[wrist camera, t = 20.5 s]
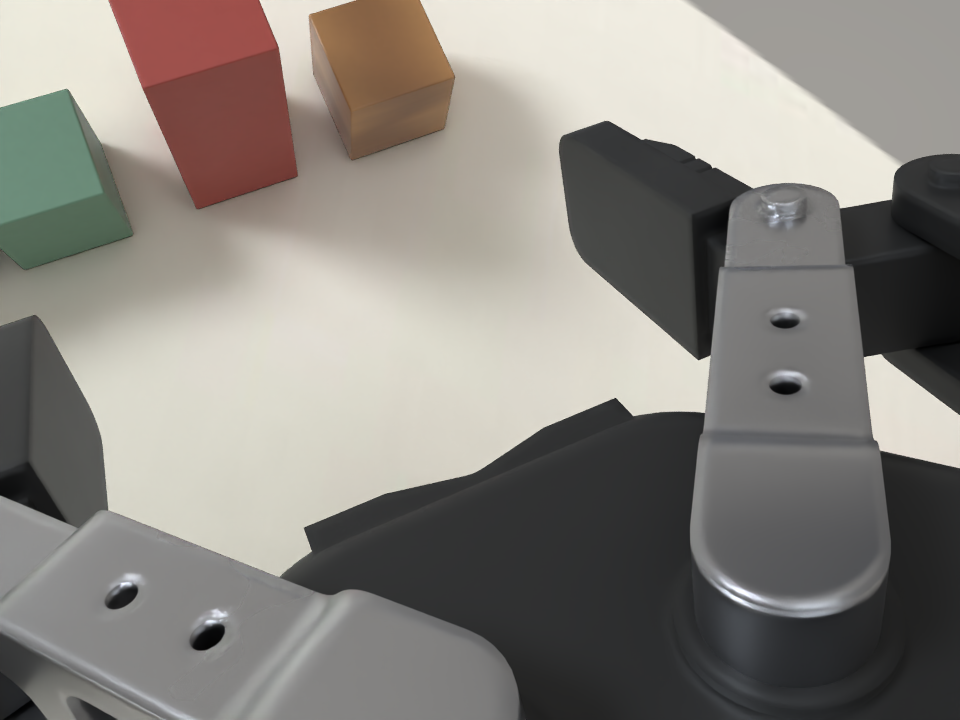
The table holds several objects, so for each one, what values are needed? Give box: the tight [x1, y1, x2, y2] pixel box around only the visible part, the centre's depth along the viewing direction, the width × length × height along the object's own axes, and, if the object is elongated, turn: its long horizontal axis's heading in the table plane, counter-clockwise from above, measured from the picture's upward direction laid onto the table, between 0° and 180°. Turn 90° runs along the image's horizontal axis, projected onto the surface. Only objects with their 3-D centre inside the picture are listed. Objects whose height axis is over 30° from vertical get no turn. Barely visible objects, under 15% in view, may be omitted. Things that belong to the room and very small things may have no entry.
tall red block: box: [109, 0, 298, 209], centre depth 31 cm, size 4×4×9 cm
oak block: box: [309, 0, 455, 160], centre depth 34 cm, size 4×4×4 cm
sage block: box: [0, 89, 133, 270], centre depth 32 cm, size 4×4×4 cm
